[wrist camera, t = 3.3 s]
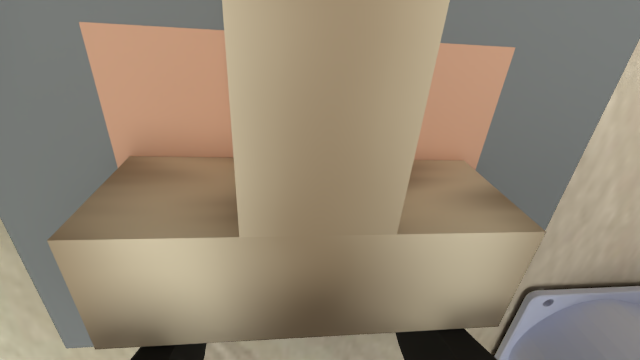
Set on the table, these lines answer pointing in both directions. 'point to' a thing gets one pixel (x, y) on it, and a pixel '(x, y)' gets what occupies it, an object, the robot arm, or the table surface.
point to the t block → (302, 199)
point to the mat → (214, 107)
